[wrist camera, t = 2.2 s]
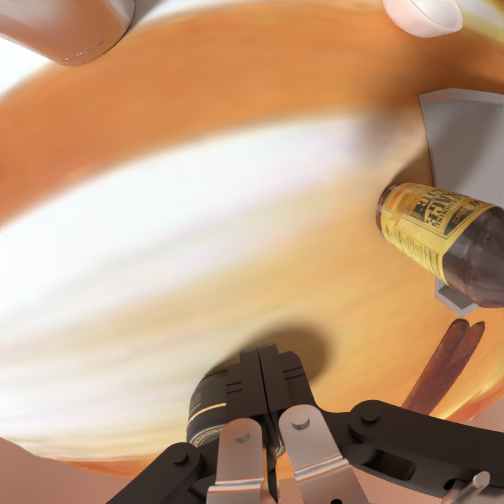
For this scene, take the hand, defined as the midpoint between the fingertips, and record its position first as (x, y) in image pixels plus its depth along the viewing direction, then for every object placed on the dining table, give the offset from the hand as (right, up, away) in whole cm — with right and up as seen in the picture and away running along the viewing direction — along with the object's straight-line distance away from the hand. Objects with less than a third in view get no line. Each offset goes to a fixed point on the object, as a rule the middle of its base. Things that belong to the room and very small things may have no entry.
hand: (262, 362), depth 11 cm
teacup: (+14, +29, +6) cm, 33 cm away
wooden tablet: (+27, -17, +23) cm, 40 cm away
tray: (+30, +12, +13) cm, 35 cm away
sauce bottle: (+13, +8, +13) cm, 20 cm away
